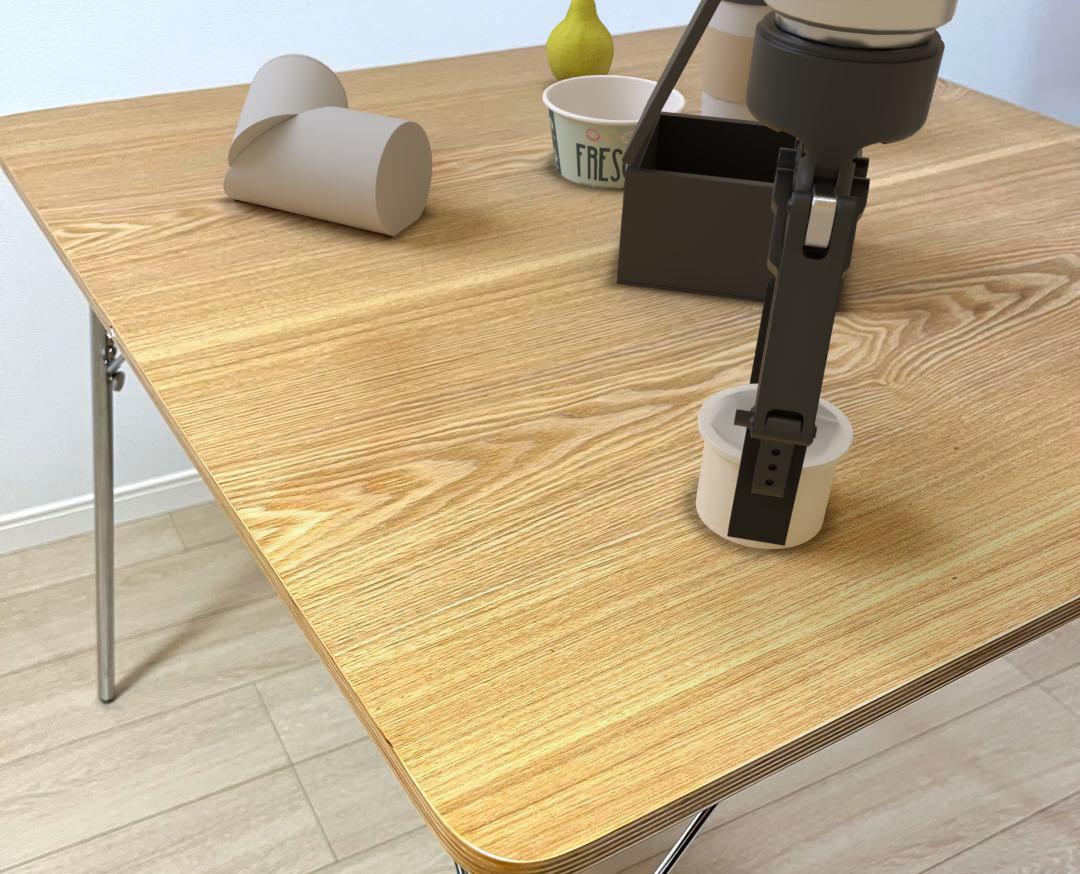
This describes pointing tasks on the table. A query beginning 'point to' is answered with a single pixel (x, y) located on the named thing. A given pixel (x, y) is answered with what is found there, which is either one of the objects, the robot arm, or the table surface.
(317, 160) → the elbow connector
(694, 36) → the lid
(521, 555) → the table surface
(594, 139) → the food container
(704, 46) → the coffee cup
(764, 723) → the table surface
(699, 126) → the open brown storage bin
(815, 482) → the white short cylinder
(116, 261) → the table surface
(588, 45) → the fruit
